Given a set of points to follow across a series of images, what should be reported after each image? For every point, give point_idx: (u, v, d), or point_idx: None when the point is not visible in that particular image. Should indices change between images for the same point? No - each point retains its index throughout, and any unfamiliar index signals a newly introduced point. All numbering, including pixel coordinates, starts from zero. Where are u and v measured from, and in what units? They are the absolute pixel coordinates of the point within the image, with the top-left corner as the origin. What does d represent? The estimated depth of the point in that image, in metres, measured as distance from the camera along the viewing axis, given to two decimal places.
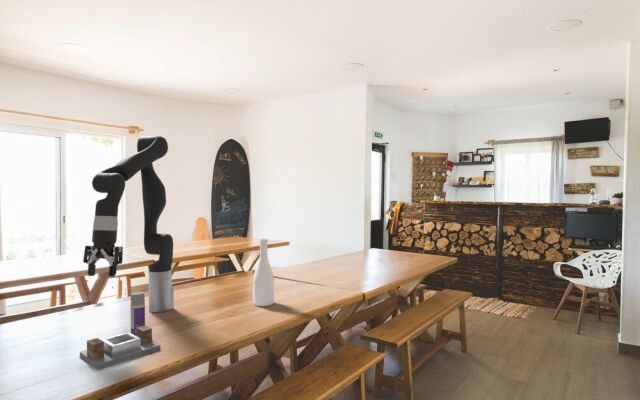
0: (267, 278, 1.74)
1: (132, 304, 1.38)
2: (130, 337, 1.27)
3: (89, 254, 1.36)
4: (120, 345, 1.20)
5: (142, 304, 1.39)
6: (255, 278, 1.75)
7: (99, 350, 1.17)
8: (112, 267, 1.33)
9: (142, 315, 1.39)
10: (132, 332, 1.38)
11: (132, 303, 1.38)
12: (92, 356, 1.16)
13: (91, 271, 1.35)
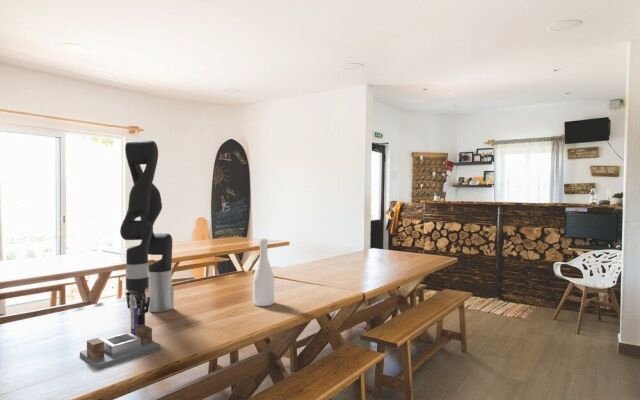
0: (267, 278, 1.74)
1: (132, 304, 1.38)
2: (130, 337, 1.27)
3: None
4: (120, 345, 1.20)
5: None
6: (255, 278, 1.75)
7: (99, 350, 1.17)
8: (139, 316, 1.37)
9: None
10: (132, 332, 1.38)
11: (132, 303, 1.38)
12: (92, 356, 1.16)
13: None
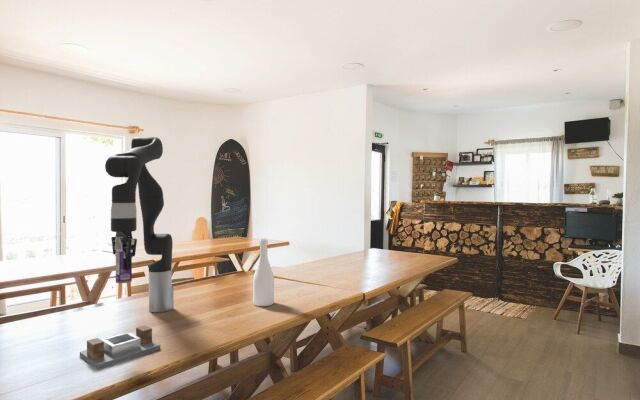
0: (267, 278, 1.74)
1: (118, 247, 1.25)
2: (130, 337, 1.27)
3: None
4: (120, 345, 1.20)
5: None
6: (255, 278, 1.75)
7: (99, 350, 1.17)
8: (125, 260, 1.24)
9: None
10: (117, 278, 1.25)
11: (117, 246, 1.25)
12: (92, 356, 1.16)
13: None
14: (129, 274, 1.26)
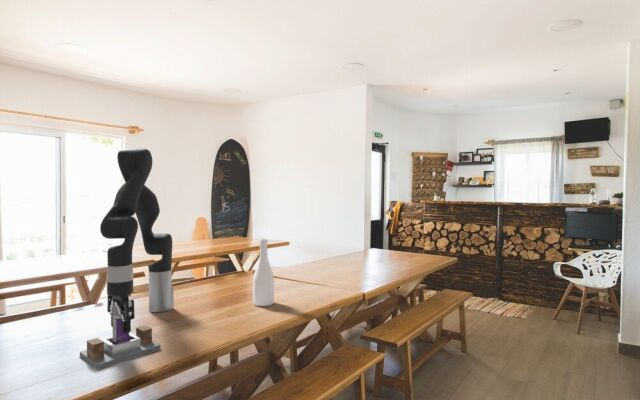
0: (267, 278, 1.74)
1: (115, 313, 1.22)
2: (130, 337, 1.27)
3: None
4: (120, 345, 1.20)
5: None
6: (255, 278, 1.75)
7: (99, 350, 1.17)
8: (125, 323, 1.20)
9: None
10: None
11: (114, 313, 1.22)
12: (92, 356, 1.16)
13: None
14: (126, 340, 1.23)
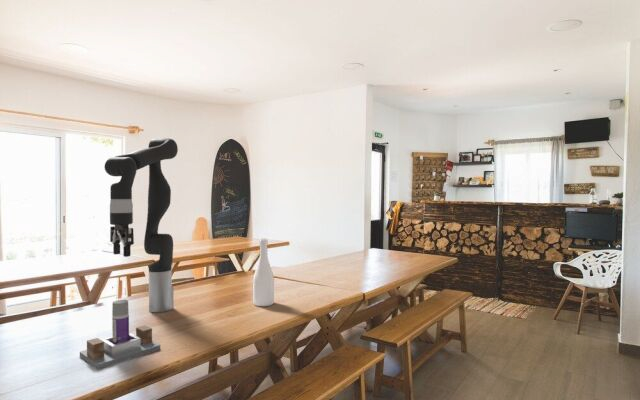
0: (267, 278, 1.74)
1: (114, 314, 1.22)
2: (130, 337, 1.27)
3: None
4: (120, 345, 1.20)
5: (125, 313, 1.23)
6: (255, 278, 1.75)
7: (99, 350, 1.17)
8: (125, 247, 1.39)
9: (125, 327, 1.23)
10: None
11: (114, 313, 1.22)
12: (92, 356, 1.16)
13: (115, 250, 1.45)
14: (126, 340, 1.23)
